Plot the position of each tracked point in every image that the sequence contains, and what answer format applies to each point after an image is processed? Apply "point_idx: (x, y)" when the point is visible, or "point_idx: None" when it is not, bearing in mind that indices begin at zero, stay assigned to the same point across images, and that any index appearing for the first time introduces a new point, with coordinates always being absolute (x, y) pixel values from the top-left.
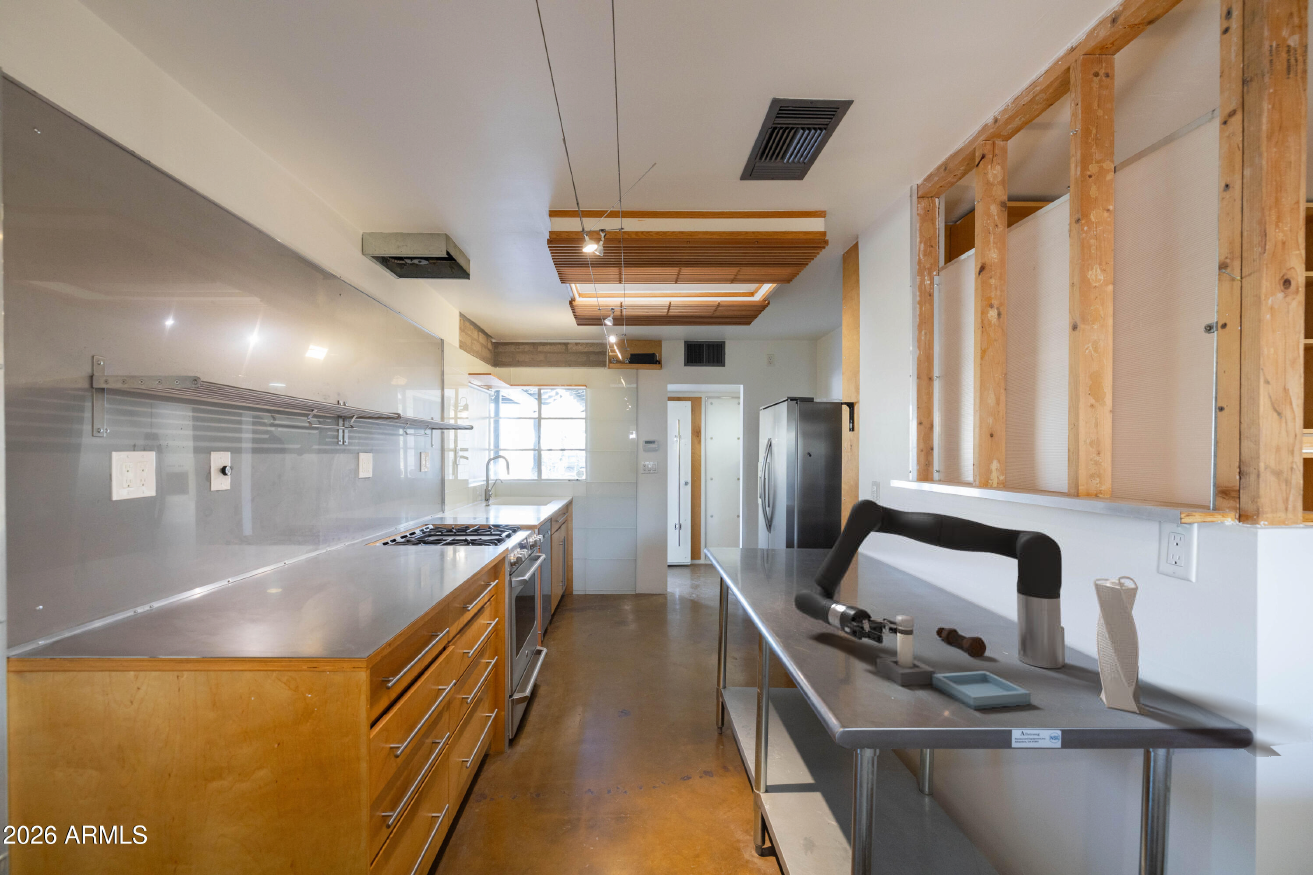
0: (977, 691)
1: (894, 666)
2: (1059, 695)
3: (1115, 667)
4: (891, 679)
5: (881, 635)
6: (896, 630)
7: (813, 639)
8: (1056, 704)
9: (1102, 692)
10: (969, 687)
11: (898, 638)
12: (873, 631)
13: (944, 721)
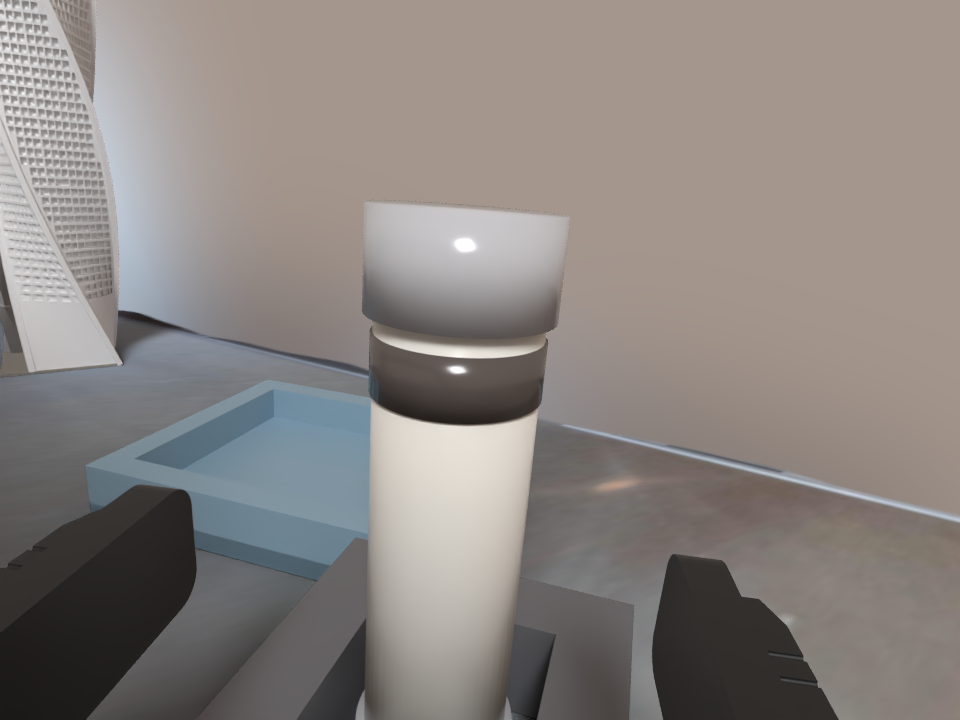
0: (334, 474)
1: (587, 692)
2: (90, 405)
3: (98, 246)
4: None
5: (692, 561)
6: (2, 704)
7: None
8: (201, 399)
9: (29, 355)
10: (312, 496)
11: (530, 466)
12: (751, 696)
13: (674, 470)
